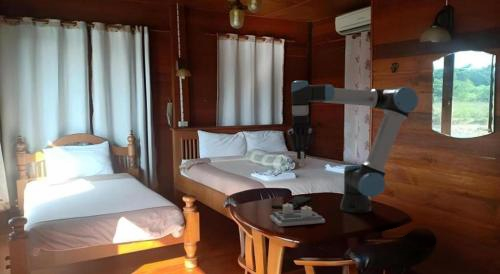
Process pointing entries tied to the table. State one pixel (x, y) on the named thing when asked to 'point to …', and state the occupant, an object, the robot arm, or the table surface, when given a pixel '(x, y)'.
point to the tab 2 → (306, 211)
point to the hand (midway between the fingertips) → (301, 166)
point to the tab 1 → (288, 209)
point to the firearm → (294, 202)
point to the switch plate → (295, 218)
